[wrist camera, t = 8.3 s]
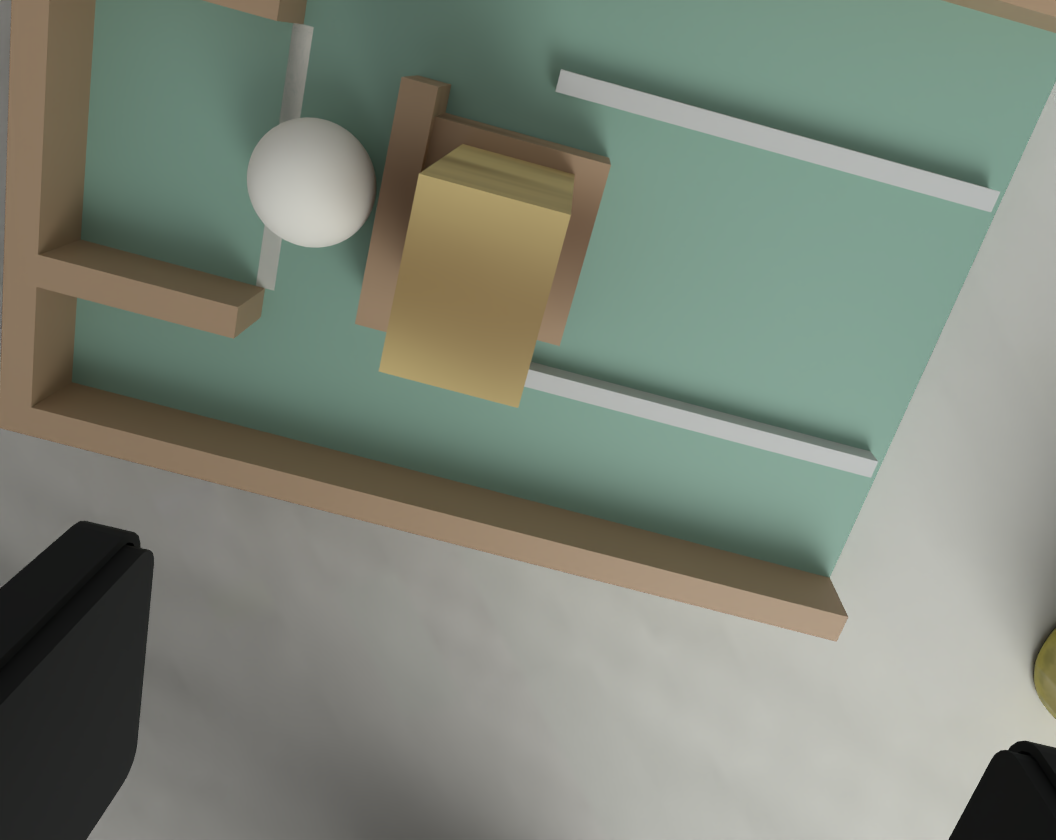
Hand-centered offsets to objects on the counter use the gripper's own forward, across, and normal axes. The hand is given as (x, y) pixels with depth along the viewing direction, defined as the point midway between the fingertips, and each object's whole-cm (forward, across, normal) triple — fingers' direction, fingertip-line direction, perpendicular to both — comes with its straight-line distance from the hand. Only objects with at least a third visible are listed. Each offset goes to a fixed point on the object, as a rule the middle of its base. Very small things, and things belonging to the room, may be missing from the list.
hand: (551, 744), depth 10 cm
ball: (+16, +9, -2) cm, 19 cm away
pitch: (+21, +3, -2) cm, 21 cm away
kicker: (+20, +3, -2) cm, 20 cm away
